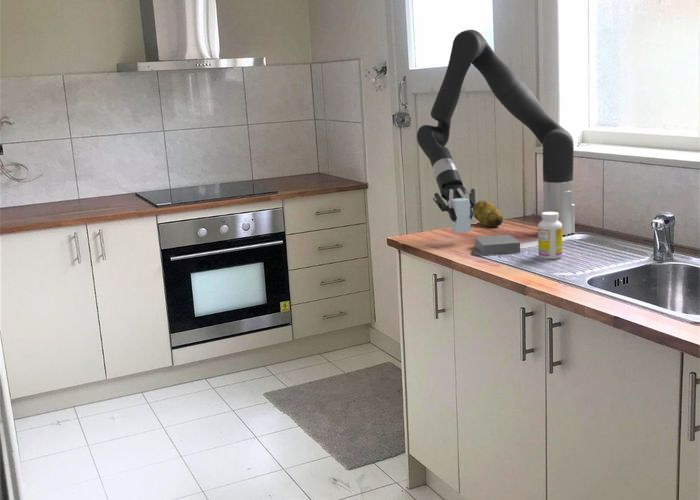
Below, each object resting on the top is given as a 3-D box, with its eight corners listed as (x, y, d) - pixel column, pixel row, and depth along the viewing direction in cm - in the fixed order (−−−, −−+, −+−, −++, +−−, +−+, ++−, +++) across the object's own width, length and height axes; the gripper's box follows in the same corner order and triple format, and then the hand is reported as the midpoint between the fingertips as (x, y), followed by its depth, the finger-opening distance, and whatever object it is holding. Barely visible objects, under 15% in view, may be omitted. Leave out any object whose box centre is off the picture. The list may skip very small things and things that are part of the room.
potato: (481, 229, 263) (480, 206, 261) (470, 222, 276) (469, 200, 274) (504, 227, 264) (504, 204, 262) (493, 220, 277) (492, 198, 275)
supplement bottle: (560, 253, 227) (560, 210, 224) (563, 259, 220) (564, 215, 217) (536, 254, 227) (536, 211, 224) (539, 260, 221) (539, 215, 218)
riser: (509, 244, 241) (509, 234, 241) (520, 252, 231) (520, 242, 230) (474, 246, 241) (474, 237, 240) (483, 255, 230) (483, 245, 229)
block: (465, 228, 246) (463, 197, 244) (470, 231, 242) (469, 199, 240) (451, 230, 245) (450, 199, 243) (457, 233, 241) (455, 201, 239)
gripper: (428, 170, 245) (444, 215, 236) (470, 166, 248) (487, 209, 239) (423, 185, 251) (438, 228, 242) (464, 180, 254) (481, 223, 246)
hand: (463, 219), depth 241 cm, fingers closed on block, 4 cm apart
